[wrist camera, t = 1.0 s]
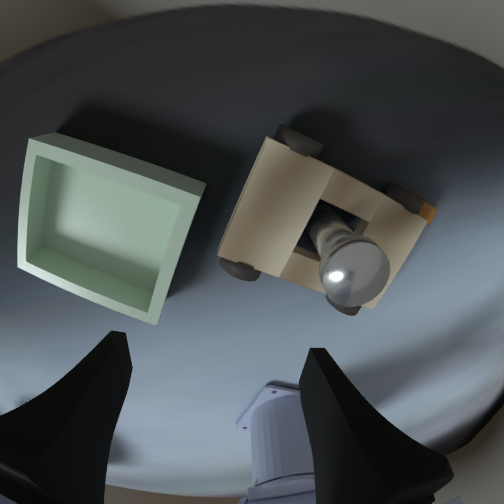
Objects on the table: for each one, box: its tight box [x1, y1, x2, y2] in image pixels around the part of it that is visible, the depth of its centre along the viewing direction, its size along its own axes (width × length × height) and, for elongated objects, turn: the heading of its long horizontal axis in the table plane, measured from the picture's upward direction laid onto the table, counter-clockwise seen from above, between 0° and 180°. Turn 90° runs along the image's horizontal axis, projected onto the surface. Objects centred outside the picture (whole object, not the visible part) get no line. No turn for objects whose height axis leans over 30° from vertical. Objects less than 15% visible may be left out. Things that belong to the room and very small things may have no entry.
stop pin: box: [305, 205, 390, 307], centre depth 16 cm, size 3×3×7 cm
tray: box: [18, 132, 207, 326], centre depth 17 cm, size 11×9×3 cm
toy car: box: [217, 125, 437, 316], centre depth 18 cm, size 12×9×3 cm
